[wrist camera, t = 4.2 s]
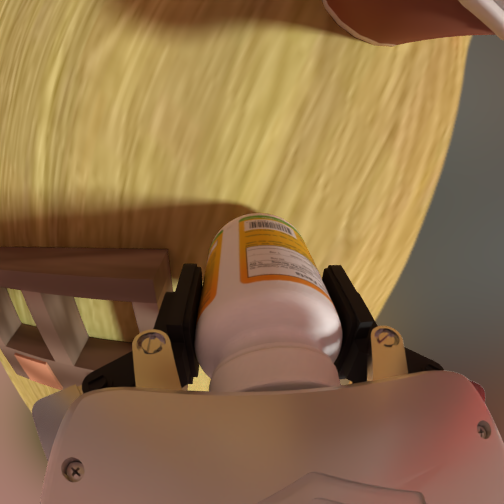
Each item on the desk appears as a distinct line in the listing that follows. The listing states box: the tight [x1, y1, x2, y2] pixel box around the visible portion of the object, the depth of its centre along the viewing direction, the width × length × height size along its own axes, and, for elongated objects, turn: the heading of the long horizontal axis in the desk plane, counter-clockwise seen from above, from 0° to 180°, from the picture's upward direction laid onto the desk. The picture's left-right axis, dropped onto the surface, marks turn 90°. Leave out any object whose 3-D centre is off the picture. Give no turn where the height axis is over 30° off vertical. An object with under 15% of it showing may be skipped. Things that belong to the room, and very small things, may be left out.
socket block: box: [0, 247, 188, 391], centre depth 17 cm, size 13×19×4 cm
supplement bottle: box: [194, 213, 343, 392], centre depth 11 cm, size 5×5×10 cm
